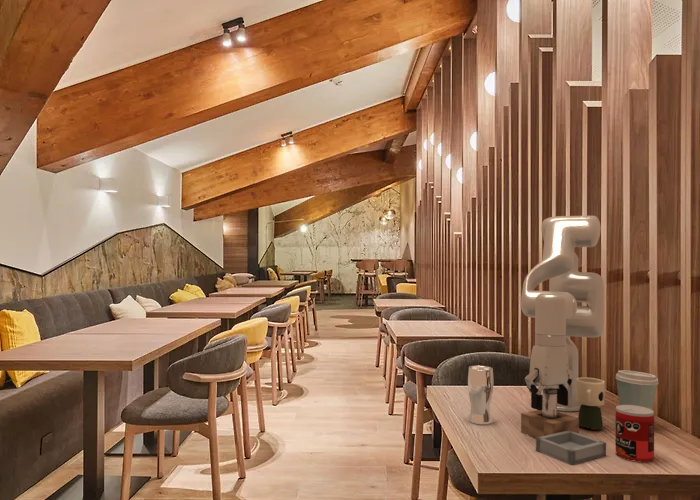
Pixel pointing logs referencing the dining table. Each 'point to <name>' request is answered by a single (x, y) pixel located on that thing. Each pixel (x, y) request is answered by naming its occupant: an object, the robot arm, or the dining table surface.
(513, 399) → the dining table surface
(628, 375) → the disposable coffee cup
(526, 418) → the block
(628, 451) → the canned food
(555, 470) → the dining table surface
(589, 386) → the character mug
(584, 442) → the tray
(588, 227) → the robot arm
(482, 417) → the beer glass
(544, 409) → the pin
